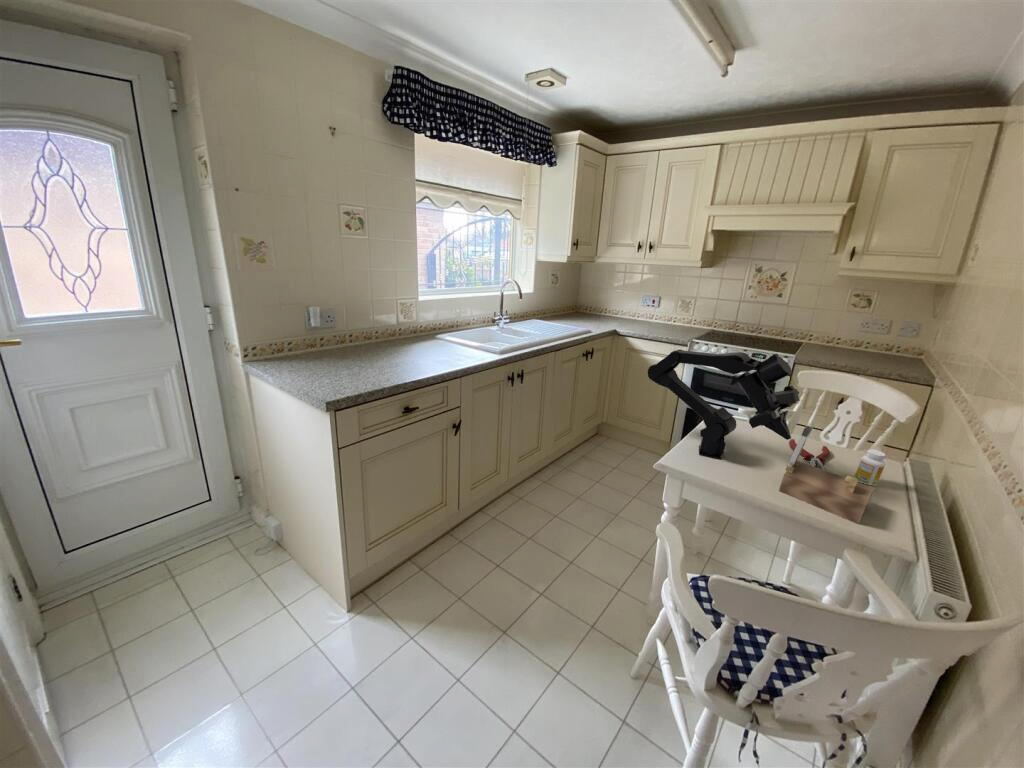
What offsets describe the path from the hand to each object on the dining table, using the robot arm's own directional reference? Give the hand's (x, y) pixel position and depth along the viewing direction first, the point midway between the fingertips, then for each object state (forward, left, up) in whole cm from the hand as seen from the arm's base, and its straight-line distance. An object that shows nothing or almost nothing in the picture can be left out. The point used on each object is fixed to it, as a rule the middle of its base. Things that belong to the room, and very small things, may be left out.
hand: (789, 439), depth 118 cm
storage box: (+10, -5, -13) cm, 18 cm away
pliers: (+12, +22, -14) cm, 29 cm away
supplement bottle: (+25, +12, -14) cm, 31 cm away
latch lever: (+3, -1, -2) cm, 4 cm away
